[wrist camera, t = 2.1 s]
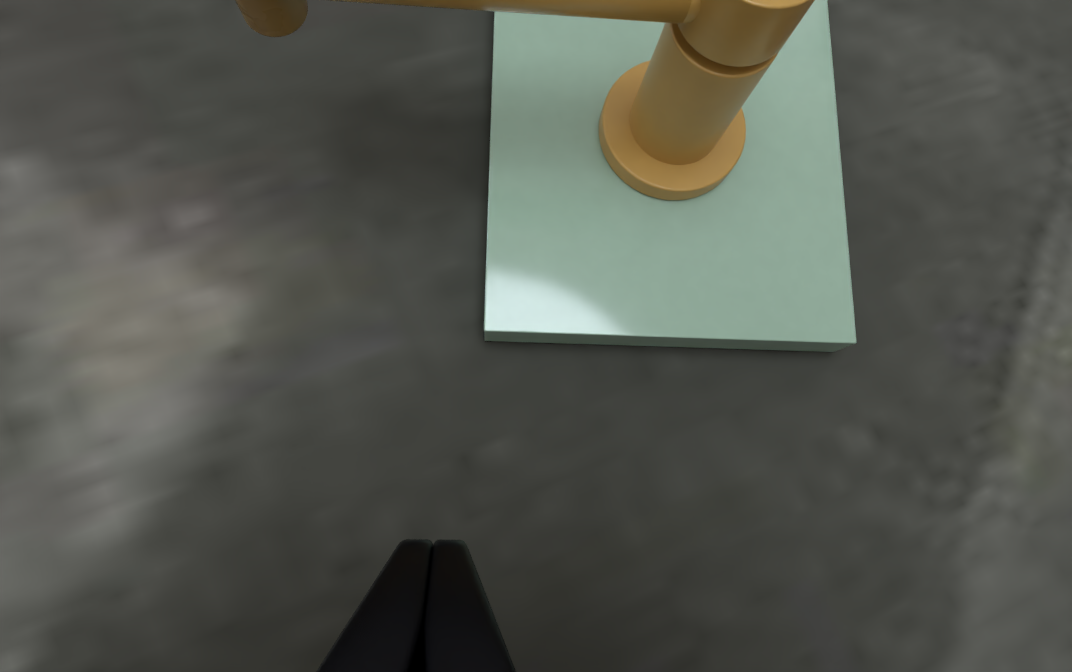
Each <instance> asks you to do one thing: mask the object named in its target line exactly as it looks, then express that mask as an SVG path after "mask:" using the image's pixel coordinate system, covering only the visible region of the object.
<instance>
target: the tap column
mask: <svg viewBox="0 0 1072 672" xmlns="http://www.w3.org/2000/svg"><path fill="white" fill-rule="evenodd" d="M777 54H778V53H777ZM777 54H775V55H774V56H773V57H771V58H770V59H768V60H766V61H764V62H762V63H759V64H756V65H752V66H745V67H735V66H727V65H723V64H719V63H717V62H714V61H712V60H710V59H708V58H706V57H704V56H703V55H701V54H700V53H698V52H697V51H696V50H695V49H694V48H693V47H692V46H691V45H690V44H689V43H688V42H687V40H686V39H685V38H684V36H683V35H682V33H681V31H680V29H679V26H678V24H676V23H665V25H664V28H663V30H662V33H661V35H660V38H659V40H658V43H657V45H656V48H655V50H654V53H653V55H652V58H651V60H649V61H646V62H643V63H641V64H638V65H636V66H634V67H632V68H631V69H629V70H628V71H627V72H625V73H624V74H623V75H622V76H621V77H619V78H618V80H617V81H616V82H615V83H614V84H613V86H612V87H611V89H610V91H609V92H608V95H607V97H606V99H605V102H604V105H603V108H602V112H601V115H600V120H599V139H600V144H601V148H602V151H603V153H604V156H605V158H606V160H607V162H608V163H609V165H610V166H611V168H612V169H613V171H614V172H615V173H616V174H617V175H618V176H619V177H620V178H621V179H622V180H623V181H624V182H625V183H626V184H628V185H629V186H630V187H632V188H633V189H635V190H637V191H639V192H641V193H643V194H645V195H648V196H651V197H654V198H658V199H664V200H685V199H690V198H695V197H698V196H700V195H703V194H705V193H707V192H709V191H711V190H712V189H714V188H715V187H716V186H718V185H719V184H720V183H721V182H722V181H723V180H724V179H725V178H726V176H727V175H728V174H729V173H730V171H731V170H732V169H733V167H734V166H735V165H736V164H737V162H738V160H739V158H740V156H741V154H742V151H743V148H744V144H745V139H746V124H745V118H744V113H743V110H742V106H743V104H744V103H745V101H746V100H747V99H748V97H749V96H750V94H751V93H752V91H753V90H754V88H755V87H756V85H757V84H758V82H759V81H760V80H761V78H762V77H763V75H764V74H765V72H766V71H767V69H768V68H769V66H770V65H771V64H772V62H773V61H774V59H775V58H776V56H777Z"/></svg>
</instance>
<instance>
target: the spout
mask: <svg viewBox="0 0 1072 672" xmlns="http://www.w3.org/2000/svg"><path fill="white" fill-rule="evenodd" d="M235 1H236V3H237V5H238V7H239V9H240V11H241V13H242V15H243V17H244V19H245V21H246V22H247V24H248V25H249V26H250V27H251V28H252V29H253V30H255V31H256V32H258V33H260V34H262V35H265V36H269V37H282V36H286V35H289V34H291V33H293V32H294V31H296V30H297V29H298V28H299V27H300V26H301V25H302V24H303V22H304V21H305V19H306V16H307V11H308V5H307V1H306V0H235ZM330 1H345V2H360V3H375V4H390V5H405V6H420V7H435V8H450V9H465V10H480V11H495V12H510V13H525V14H540V15H556V16H571V17H586V18H601V19H616V20H631V21H646V22H661V23H676V24H678V26H679V29H680V31H681V33H682V35H683V36H684V38H685V39H686V40H687V42H688V43H689V44H690V45H691V46H692V47H693V48H694V49H695V50H696V51H697V52H698V53H700V54H701V55H703V56H704V57H706V58H708V59H710V60H712V61H714V62H717V63H719V64H723V65H727V66H735V67H745V66H752V65H756V64H759V63H762V62H764V61H766V60H768V59H770V58H771V57H773V56H774V55H775V54H777V53H778V52H779V51H780V50H781V49H782V47H783V46H784V44H785V43H786V41H787V40H788V39H789V37H790V36H791V34H792V33H793V31H794V30H795V28H796V27H797V25H798V24H799V23H800V21H801V20H802V18H803V17H804V15H805V14H806V12H807V11H808V9H809V8H810V6H811V5H812V4H813V2H814V1H815V0H330Z"/></svg>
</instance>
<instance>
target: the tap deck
mask: <svg viewBox="0 0 1072 672" xmlns="http://www.w3.org/2000/svg"><path fill="white" fill-rule="evenodd" d="M664 25H665V23H661V22H646V21H631V20H616V19H601V18H586V17H571V16H556V15H540V14H525V13H510V12H495V11H494V37H493V67H492V97H491V127H490V158H489V188H488V218H487V248H486V278H485V308H484V341H506V342H537V343H568V344H599V345H631V346H662V347H693V348H725V349H756V350H787V351H818V352H835V351H837V350H840V349H842V348H845V347H848V346H850V345H853V344H855V343H856V331H855V319H854V308H853V296H852V284H851V272H850V261H849V249H848V237H847V225H846V214H845V202H844V190H843V179H842V167H841V155H840V143H839V132H838V120H837V108H836V96H835V85H834V73H833V61H832V50H831V38H830V26H829V14H828V3H827V0H815V1H814V2H813V4H812V5H811V6H810V8H809V9H808V11H807V12H806V14H805V15H804V17H803V18H802V20H801V21H800V23H799V24H798V25H797V27H796V28H795V30H794V31H793V33H792V34H791V36H790V37H789V39H788V40H787V41H786V43H785V44H784V46H783V47H782V49H781V50H780V51H779V52H778V54H777V56H776V58H775V59H774V61H773V62H772V64H771V65H770V66H769V68H768V69H767V71H766V72H765V74H764V75H763V77H762V78H761V80H760V81H759V82H758V84H757V85H756V87H755V88H754V90H753V91H752V93H751V94H750V96H749V97H748V99H747V100H746V101H745V103H744V104H743V106H742V110H743V113H744V118H745V124H746V139H745V144H744V148H743V151H742V154H741V156H740V158H739V160H738V162H737V164H736V165H735V166H734V167H733V169H732V170H731V171H730V173H729V174H728V175H727V176H726V178H725V179H724V180H723V181H722V182H721V183H720V184H719V185H718V186H716V187H715V188H714V189H712V190H711V191H709V192H707V193H705V194H703V195H700V196H698V197H695V198H690V199H685V200H664V199H658V198H654V197H651V196H648V195H645V194H643V193H641V192H639V191H637V190H635V189H633V188H632V187H630V186H629V185H628V184H626V183H625V182H624V181H623V180H622V179H621V178H620V177H619V176H618V175H617V174H616V173H615V172H614V171H613V169H612V168H611V166H610V165H609V163H608V162H607V160H606V158H605V156H604V153H603V151H602V148H601V144H600V139H599V120H600V115H601V112H602V108H603V105H604V102H605V99H606V97H607V95H608V92H609V91H610V89H611V87H612V86H613V84H614V83H615V82H616V81H617V80H618V78H619V77H621V76H622V75H623V74H624V73H625V72H627V71H628V70H629V69H631V68H632V67H634V66H636V65H638V64H641V63H643V62H646V61H649V60H651V58H652V55H653V53H654V50H655V48H656V45H657V43H658V40H659V38H660V35H661V33H662V30H663V28H664Z"/></svg>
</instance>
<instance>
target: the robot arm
mask: <svg viewBox="0 0 1072 672" xmlns="http://www.w3.org/2000/svg"><path fill="white" fill-rule="evenodd" d="M316 672H516V671H515V668H514V666H513V663H512V661H511V658H510V656H509V653H508V650H507V648H506V645H505V643H504V640H503V637H502V635H501V632H500V630H499V627H498V624H497V622H496V619H495V617H494V614H493V612H492V609H491V606H490V604H489V601H488V599H487V596H486V593H485V591H484V588H483V586H482V583H481V580H480V578H479V575H478V573H477V570H476V568H475V565H474V562H473V560H472V557H471V555H470V552H469V549H468V547H467V545H466V543H465V542H464V541H462V540H437V541H435V543H434V545H433V543H432V542H431V541H430V540H422V539H406V540H403V541H401V542H400V543H399V544H398V546H397V547H396V549H395V550H394V552H393V554H392V555H391V557H390V558H389V560H388V561H387V563H386V564H385V566H384V567H383V569H382V571H381V572H380V574H379V575H378V577H377V578H376V580H375V581H374V583H373V584H372V586H371V588H370V589H369V591H368V592H367V594H366V595H365V597H364V598H363V600H362V601H361V603H360V605H359V606H358V608H357V609H356V611H355V612H354V614H353V615H352V617H351V619H350V620H349V622H348V623H347V625H346V626H345V628H344V629H343V631H342V632H341V634H340V636H339V637H338V639H337V640H336V642H335V643H334V645H333V646H332V648H331V649H330V651H329V653H328V654H327V656H326V657H325V659H324V660H323V662H322V663H321V665H320V666H319V668H318V670H317V671H316Z"/></svg>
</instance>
